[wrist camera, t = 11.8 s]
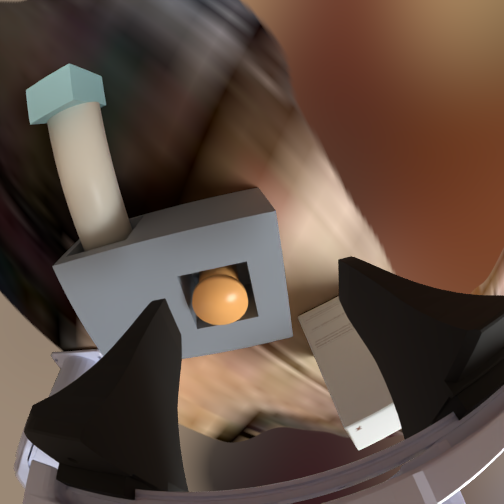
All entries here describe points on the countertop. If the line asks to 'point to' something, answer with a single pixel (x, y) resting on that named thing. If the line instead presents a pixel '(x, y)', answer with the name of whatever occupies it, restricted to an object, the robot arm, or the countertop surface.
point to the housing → (184, 273)
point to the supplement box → (350, 374)
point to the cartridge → (81, 152)
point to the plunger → (220, 296)
